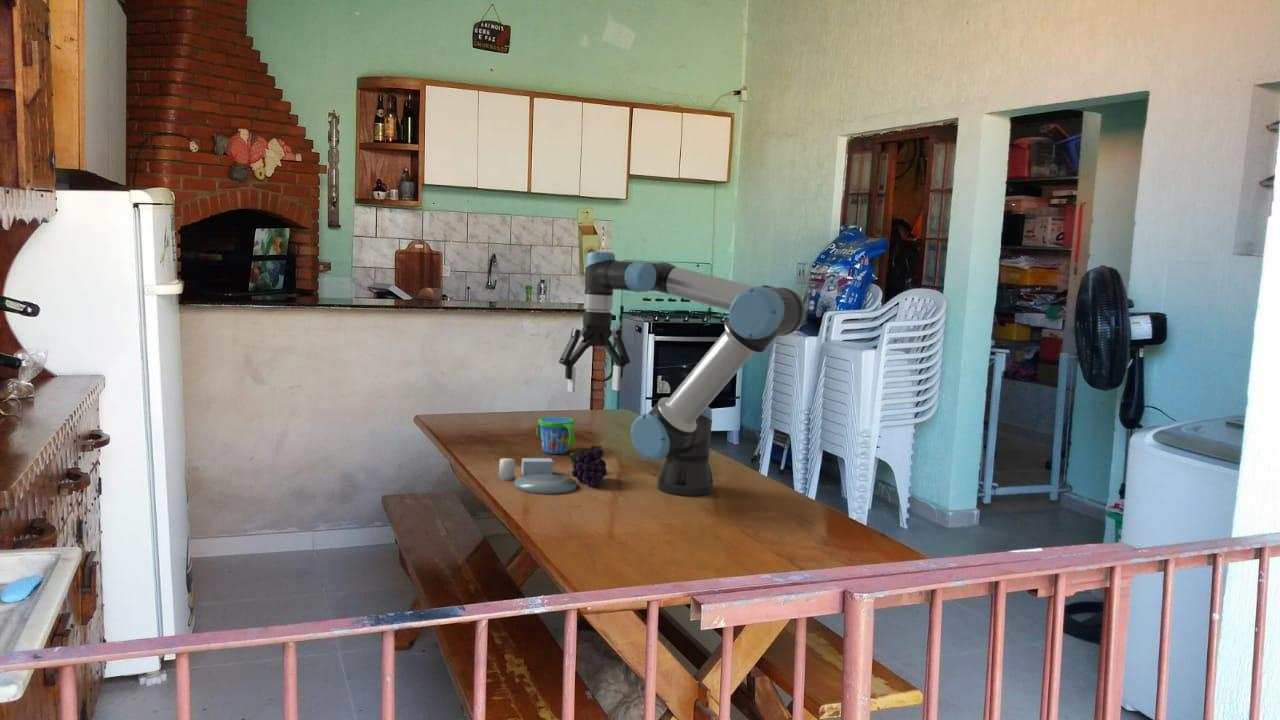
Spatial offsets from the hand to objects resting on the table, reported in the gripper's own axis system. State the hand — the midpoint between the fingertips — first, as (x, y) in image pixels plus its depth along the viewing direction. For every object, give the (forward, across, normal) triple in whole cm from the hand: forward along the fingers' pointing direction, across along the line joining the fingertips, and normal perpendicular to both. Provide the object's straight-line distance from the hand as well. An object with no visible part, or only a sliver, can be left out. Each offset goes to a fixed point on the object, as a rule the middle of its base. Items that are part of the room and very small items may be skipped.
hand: (593, 390), depth 248 cm
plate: (+25, +13, 0) cm, 28 cm away
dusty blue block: (+25, +9, -13) cm, 29 cm away
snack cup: (+25, -8, -35) cm, 43 cm away
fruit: (+25, 0, 0) cm, 25 cm away
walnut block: (+25, -4, -11) cm, 27 cm away
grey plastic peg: (+25, +19, -11) cm, 33 cm away
